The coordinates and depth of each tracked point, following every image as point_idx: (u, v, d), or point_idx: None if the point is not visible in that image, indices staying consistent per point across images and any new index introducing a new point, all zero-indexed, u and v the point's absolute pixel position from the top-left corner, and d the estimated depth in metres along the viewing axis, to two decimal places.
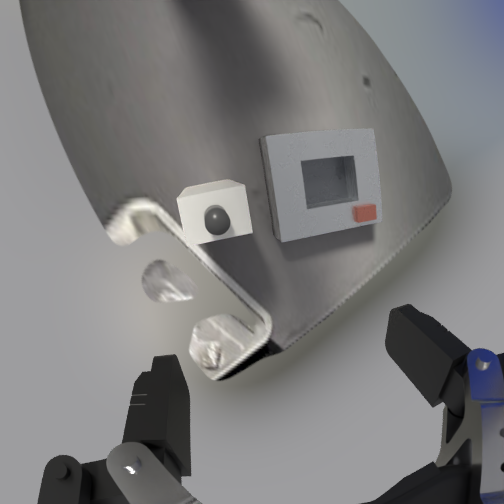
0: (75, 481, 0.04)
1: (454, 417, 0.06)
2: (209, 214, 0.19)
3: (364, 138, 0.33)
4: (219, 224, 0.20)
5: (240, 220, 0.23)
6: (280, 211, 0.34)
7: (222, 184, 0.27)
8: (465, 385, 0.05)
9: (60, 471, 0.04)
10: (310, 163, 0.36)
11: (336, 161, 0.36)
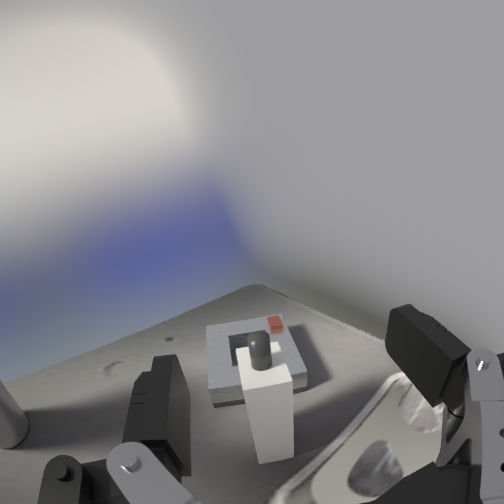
0: (75, 481, 0.04)
1: (454, 417, 0.06)
2: (250, 342, 0.22)
3: (214, 330, 0.45)
4: (259, 336, 0.22)
5: None
6: None
7: None
8: (465, 385, 0.05)
9: (60, 471, 0.04)
10: None
11: None
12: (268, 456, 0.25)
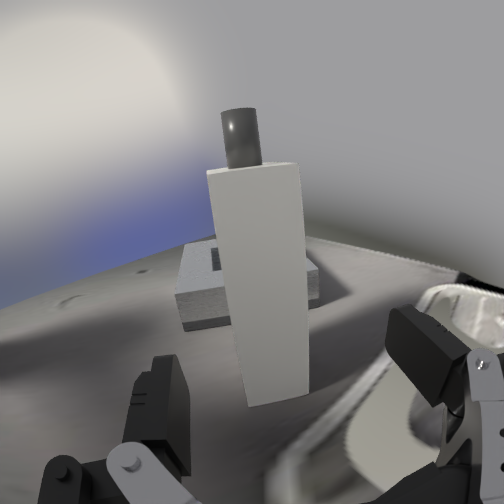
0: (75, 481, 0.04)
1: (454, 417, 0.06)
2: (224, 111, 0.13)
3: (193, 246, 0.37)
4: None
5: None
6: None
7: None
8: (465, 385, 0.05)
9: (60, 471, 0.04)
10: None
11: None
12: (264, 387, 0.16)
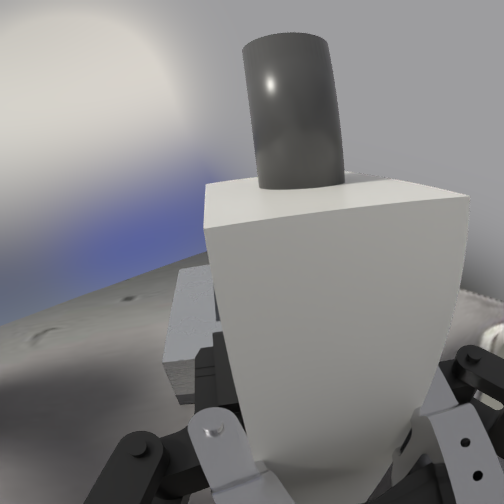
0: (155, 456, 0.05)
1: None
2: (255, 41, 0.04)
3: (190, 273, 0.28)
4: None
5: None
6: None
7: None
8: None
9: (137, 448, 0.05)
10: None
11: None
12: None
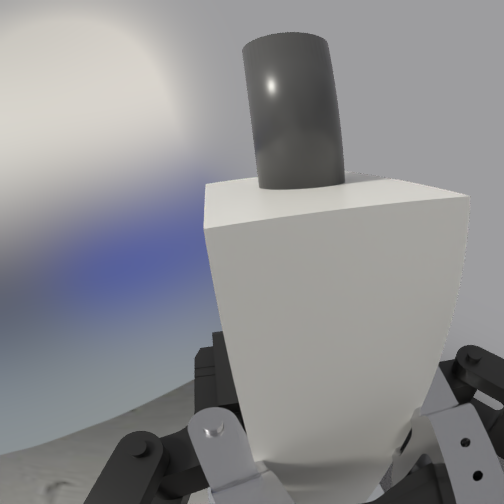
0: (155, 456, 0.05)
1: None
2: (255, 41, 0.04)
3: None
4: None
5: None
6: None
7: None
8: None
9: (137, 448, 0.05)
10: None
11: None
12: None
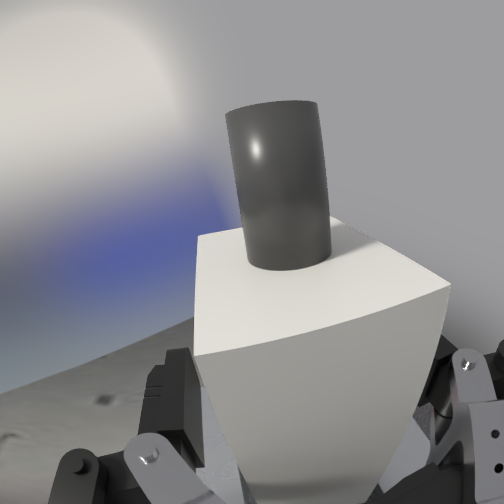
0: (92, 474, 0.04)
1: (442, 418, 0.06)
2: (237, 109, 0.05)
3: None
4: None
5: None
6: None
7: None
8: (449, 385, 0.05)
9: (76, 465, 0.04)
10: None
11: None
12: None
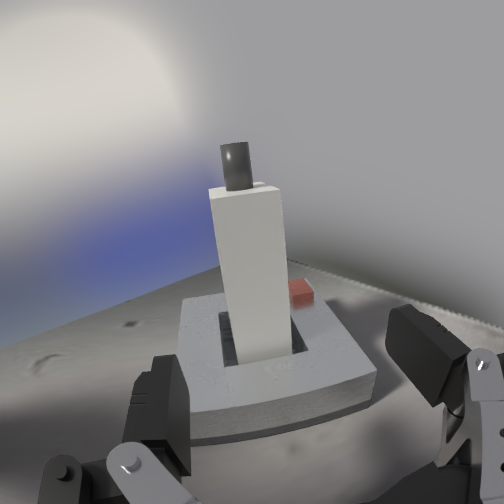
0: (75, 481, 0.04)
1: (454, 417, 0.06)
2: None
3: (194, 305, 0.27)
4: None
5: None
6: (320, 383, 0.16)
7: None
8: (465, 385, 0.05)
9: (59, 471, 0.04)
10: None
11: (232, 344, 0.25)
12: None
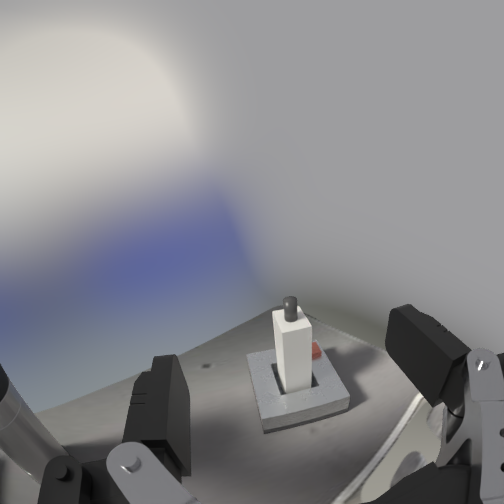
0: (75, 481, 0.04)
1: (454, 417, 0.06)
2: (285, 302, 0.36)
3: (255, 358, 0.46)
4: (290, 299, 0.37)
5: None
6: (324, 401, 0.35)
7: (277, 346, 0.41)
8: (465, 385, 0.05)
9: (60, 471, 0.04)
10: None
11: (277, 379, 0.45)
12: None
